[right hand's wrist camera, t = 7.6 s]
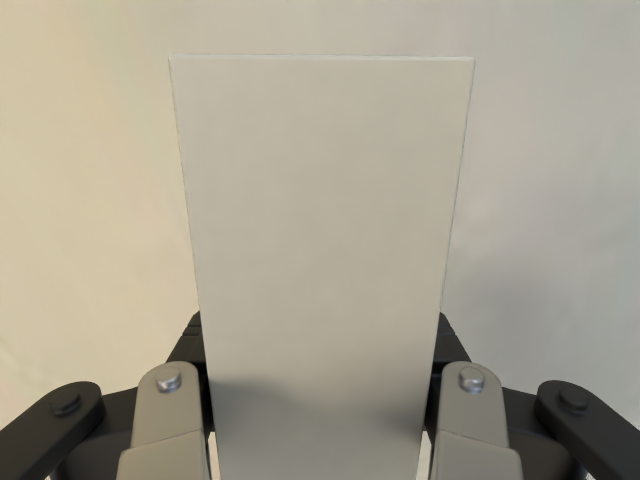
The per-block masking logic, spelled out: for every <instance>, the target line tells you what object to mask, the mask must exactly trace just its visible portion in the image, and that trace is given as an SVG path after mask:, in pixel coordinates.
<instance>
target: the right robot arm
mask: <svg viewBox="0 0 640 480" xmlns="http://www.w3.org/2000/svg"><path fill="white" fill-rule="evenodd" d="M423 431H427V433H428V436H429V439H430V442H431V451H430V460H429V471H428V480H587V479H586V476H587V474H588V472H589V473H590V474H591V475H592V476H593V477H594V478H595V479H596V480H640V431H639V430H638V429H637V428H635V427H634V426H633V425H632V424H630V423H629V422H628V421H627V420H625V419H624V418H623V417H622V416H620V415H619V414H618V413H617V412H615V411H614V410H613V409H612V408H610V407H609V406H608V405H607V404H605V403H604V402H603V401H602V400H600V399H599V398H598V397H597V396H595V395H594V394H593V393H591V392H589V391H588V390H586V389H584V388H582V387H580V386H578V385H575V384H572V383H569V382H565V381H558V380H551V381H546V382H544V383H542V384H541V385H540V386H539V388H538V391H537V395H533V394H529V393H524V392H520V391H516V390H511V389H508V388H504V387H502V385H501V382H500V380H499V379H498V378H497V376H496V375H495V374H494V373H493V372H491V371H490V370H488V369H487V368H485V367H483V366H481V365H479V364H476V363H472V361H471V360H470V358H469V356H468V355H467V353H466V351H465V349H464V348H463V346H462V344H461V342H460V341H459V339H458V337H457V336H456V335H455V332H454V330H453V329H452V327H450V324H449V322H448V320H447V318H446V317H445V315H444V314H443V313H441V312H440V314H439V321H438V328H437V335H436V342H435V349H434V356H433V363H432V370H431V377H430V384H429V391H428V398H427V405H426V412H425V419H424V426H423ZM210 432H215V428H214V420H213V412H212V404H211V396H210V388H209V380H208V372H207V364H206V356H205V348H204V340H203V332H202V324H201V316H200V311H198V312H197V313H196V314H194V315H193V317H192V318H191V320H190V322H189V323H188V325H187V327H186V329H185V330H184V332H183V335H182V336H181V337H180V339H179V340H178V342H177V344H176V346H175V347H174V349H173V351H172V352H171V354H170V356H169V357H168V359H167V361H166V363H164V364H161V365H159V366H157V367H155V368H153V369H152V370H150V371H149V372H147V373H146V374H145V375H144V376H143V377H142V379H141V380H140V382H139V385H138V386H137V387H135V388H132V389H128V390H124V391H120V392H116V393H111V394H107V395H103V396H102V393H101V390H100V387H99V386H98V385H97V384H95V383H92V382H87V381H81V382H74V383H70V384H67V385H64V386H61V387H59V388H57V389H55V390H53V391H51V392H49V393H48V394H46V395H45V396H44V397H42V398H41V399H40V400H38V401H37V402H36V403H35V404H33V405H32V406H31V407H30V408H28V409H27V410H26V411H25V412H23V413H22V414H21V415H20V416H18V417H17V418H16V419H15V420H13V421H12V422H11V423H10V424H8V425H7V426H6V427H5V428H3V429H2V430H1V431H0V480H44V479H45V478H46V477H47V476H48V475H49V476H50V479H51V480H212V471H211V461H210V451H209V444H208V438H209V435H210Z"/></svg>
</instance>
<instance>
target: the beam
mask: <svg viewBox="0 0 640 480" xmlns="http://www.w3.org/2000/svg"><path fill="white" fill-rule="evenodd" d="M168 60H169V68H170V76H171V84H172V92H173V100H174V108H175V116H176V124H177V132H178V140H179V148H180V156H181V164H182V172H183V180H184V188H185V196H186V204H187V212H188V220H189V228H190V236H191V244H192V252H193V260H194V268H195V276H196V284H197V292H198V300H199V308H200V316H201V324H202V332H203V340H204V348H205V356H206V364H207V372H208V380H209V388H210V396H211V404H212V412H213V420H214V428H215V436H216V444H217V452H218V460H219V468H220V476H221V480H416V475H417V468H418V461H419V454H420V447H421V440H422V433H423V426H424V419H425V412H426V405H427V398H428V391H429V384H430V377H431V370H432V363H433V356H434V349H435V342H436V335H437V328H438V321H439V314H440V307H441V300H442V293H443V286H444V279H445V272H446V265H447V258H448V251H449V244H450V237H451V230H452V223H453V216H454V209H455V202H456V195H457V188H458V181H459V174H460V167H461V160H462V153H463V146H464V139H465V132H466V125H467V118H468V111H469V104H470V97H471V90H472V83H473V76H474V69H475V58H473V57H471V56H389V55H279V54H171V55H169V59H168Z"/></svg>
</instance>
